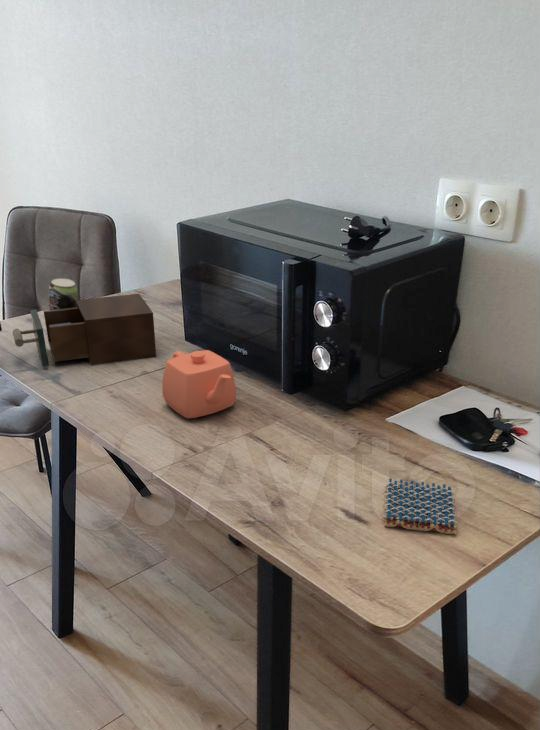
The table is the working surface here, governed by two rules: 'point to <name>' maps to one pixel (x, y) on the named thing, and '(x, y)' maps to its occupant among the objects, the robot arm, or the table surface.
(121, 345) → the cabinet
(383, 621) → the table surface
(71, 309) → the drawer
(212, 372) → the teapot
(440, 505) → the woven mat
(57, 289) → the beverage can
